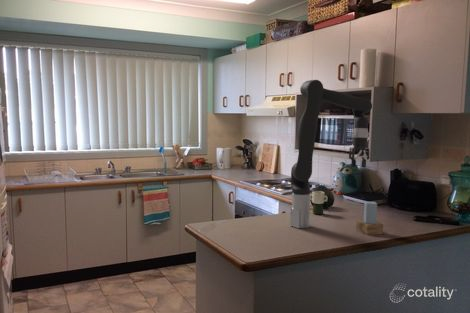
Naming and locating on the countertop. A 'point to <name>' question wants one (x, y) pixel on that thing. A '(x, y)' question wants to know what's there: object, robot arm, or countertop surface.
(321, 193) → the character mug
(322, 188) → the squash
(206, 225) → the countertop surface
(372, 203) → the grey pillar block
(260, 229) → the countertop surface
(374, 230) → the layered tan block
